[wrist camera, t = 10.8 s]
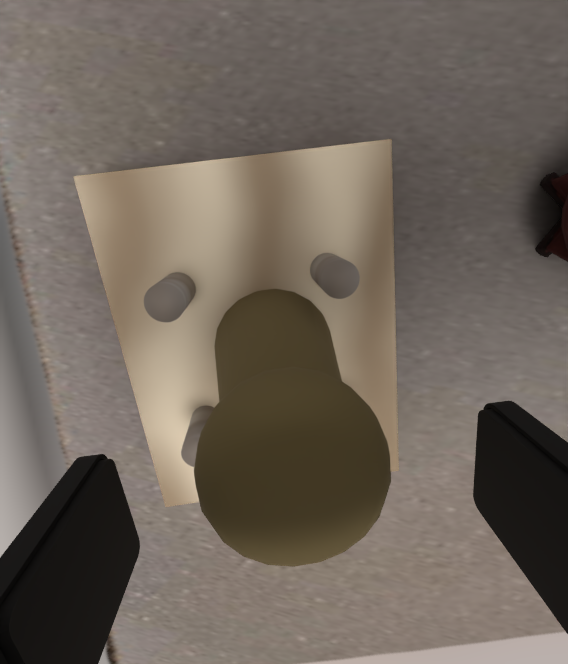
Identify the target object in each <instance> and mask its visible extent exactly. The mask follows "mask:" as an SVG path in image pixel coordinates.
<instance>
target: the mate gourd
mask: <svg viewBox="0 0 568 664" xmlns="http://www.w3.org/2000/svg"><path fill="white" fill-rule="evenodd" d="M540 185H541V187H542V188H543V189H544V190H545V191H546V192H547V193H548V194H549V195H550V196H551V197H552V198H553V199H554V200H555V202H556V203H557V204H558V205H559V206H560V207H561V208H562V218H561V219H560V220H559V222H558V223H557V224H556V225H555V226H554V227H553V229H552V230H551V231H550V232H549V233H548V234H547V235H546V237H545V238H544V239H543V240H542V241H541V242H540V244H539V245H538V246H537V247H536V252H538V253H539V254H540V255H542V256H544V257H548V256H549V255H550V254H551V253H553V254H555V255H557V256H559V257H560V258H562V259H564V260H566V261H568V173H567V174H565V175H563V176H561V177H559V176H558V175H557V174H556V173H555V172H553V173H551V174H547V175H546V176H545V177H544V178H543V180H542V181H541V183H540Z"/></svg>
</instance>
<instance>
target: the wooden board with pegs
mask: <svg viewBox="0 0 568 664" xmlns="http://www.w3.org/2000/svg"><path fill="white" fill-rule="evenodd" d="M73 177H74V180H75V184H76V188H77V191H78V195H79V198H80V202H81V206H82V209H83V213H84V216H85V220H86V223H87V227H88V231H89V234H90V238H91V241H92V245H93V249H94V252H95V256H96V259H97V263H98V266H99V270H100V274H101V277H102V281H103V284H104V288H105V292H106V295H107V299H108V302H109V306H110V309H111V313H112V317H113V320H114V324H115V327H116V331H117V334H118V338H119V342H120V345H121V349H122V352H123V356H124V360H125V363H126V367H127V370H128V374H129V377H130V381H131V385H132V388H133V392H134V395H135V399H136V403H137V406H138V410H139V413H140V417H141V420H142V424H143V428H144V431H145V435H146V438H147V442H148V446H149V449H150V453H151V456H152V460H153V463H154V467H155V471H156V474H157V478H158V481H159V485H160V488H161V492H162V496H163V499H164V503H165V506H166V507H170V506H176V505H182V504H189V503H195V502H199V498H198V494H197V489H196V485H195V477H194V466H195V459H196V452H197V446H198V441H199V438H200V434H201V431H202V429H203V427H204V426H205V424H206V422H207V420H208V418H209V417H210V415H211V413H212V411H213V409H214V408H215V406H216V405H217V404H218V403H219V394H218V382H217V370H216V359H215V347H214V345H215V339H216V332H217V328H218V326H219V324H220V322H221V320H222V318H223V316H224V314H225V312H226V311H227V310H228V309H229V308H231V307H232V306H233V305H234V304H235V303H236V302H237V301H238V300H239V299H241V298H243V297H245V296H247V295H249V294H251V293H253V292H256V291H261V290H269V289H281V290H286V291H292V292H295V293H297V294H299V295H301V296H303V297H304V298H306V299H308V300H310V301H311V302H312V303H313V304H314V305H315V306H316V307H317V308H318V309H319V310H320V311H321V313H322V314H323V316H324V318H325V320H326V322H327V325H328V327H329V329H330V333H331V337H332V341H333V346H334V350H335V354H336V358H337V362H338V367H339V371H340V375H341V379H342V382H343V383H345V384H347V385H348V386H350V387H351V388H352V389H353V390H354V391H355V392H356V393H357V394H358V395H359V396H360V397H361V398H362V399H363V400H364V401H365V402H366V403H367V404H368V405H369V406H370V408H371V409H372V411H373V412H374V414H375V415H376V417H377V419H378V421H379V423H380V426H381V428H382V430H383V432H384V435H385V437H386V439H387V442H388V447H389V453H390V469H391V472H392V471H399V460H398V414H397V368H396V321H395V275H394V229H393V183H392V139H387V140H378V141H370V142H361V143H353V144H344V145H336V146H327V147H319V148H310V149H302V150H293V151H285V152H276V153H268V154H259V155H251V156H242V157H234V158H225V159H217V160H208V161H200V162H191V163H183V164H174V165H166V166H157V167H149V168H140V169H132V170H123V171H115V172H106V173H98V174H89V175H81V176H73Z"/></svg>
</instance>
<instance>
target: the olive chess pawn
mask: <svg viewBox="0 0 568 664" xmlns="http://www.w3.org/2000/svg"><path fill="white" fill-rule="evenodd" d="M214 347H215V359H216V370H217V382H218V394H219V403H218V404H217V405H216V406H215V408H214V409H213V411H212V413H211V415H210V417H209V418H208V420H207V422H206V424H205V426H204V427H203V429H202V431H201V434H200V438H199V441H198V446H197V452H196V459H195V466H194V477H195V485H196V489H197V494H198V498H199V502H200V506H201V510H202V512H203V513H204V515H205V516H206V518H207V519H208V521H209V522H210V523H211V525H212V526H213V528H214V529H215V531H216V532H217V533H218V535H219V536H220V538H221V539H222V541H223V542H224V543H226V544H227V545H228V546H230V547H231V548H233V549H234V550H235V551H237V552H238V553H239V554H241V555H242V556H244V557H247V558H250V559H253V560H256V561H258V562H261V563H264V564H267V565H280V566H300V565H306V564H312V563H318V562H321V561H324V560H326V559H328V558H331V557H333V556H336V555H338V554H340V553H343V552H345V551H346V550H347V549H349V548H350V547H351V546H353V545H354V544H355V543H356V542H358V541H359V540H360V539H362V538H363V537H364V536H365V535H366V534H367V532H368V531H369V530H370V528H371V527H372V526H373V524H374V523H375V522H376V521H377V519H378V518H379V516H380V513H381V510H382V507H383V504H384V501H385V498H386V496H387V492H388V489H389V485H390V482H391V469H390V453H389V447H388V442H387V439H386V437H385V435H384V432H383V430H382V428H381V426H380V423H379V421H378V419H377V417H376V415H375V414H374V412H373V411H372V409H371V408H370V406H369V405H368V404H367V403H366V402H365V401H364V400H363V399H362V398H361V397H360V396H359V395H358V394H357V393H356V392H355V391H354V390H353V389H352V388H351V387H350V386H348V385H347V384H345V383H343V382H342V379H341V375H340V371H339V367H338V362H337V358H336V354H335V350H334V346H333V341H332V337H331V333H330V329H329V327H328V325H327V322H326V320H325V318H324V316H323V314H322V313H321V311H320V310H319V309H318V308H317V307H316V306H315V305H314V304H313V303H312V302H311V301H310V300H308V299H306V298H304V297H303V296H301V295H299V294H297V293H295V292H292V291H286V290H281V289H269V290H261V291H256V292H253V293H251V294H249V295H247V296H245V297H243V298H241V299H239V300H238V301H237V302H236V303H235V304H234V305H233V306H232V307H231V308H229V309H228V310H227V311H226V312H225V314H224V316H223V318H222V320H221V322H220V324H219V326H218V328H217V332H216V339H215V345H214Z"/></svg>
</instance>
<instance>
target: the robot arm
mask: <svg viewBox="0 0 568 664" xmlns="http://www.w3.org/2000/svg"><path fill="white" fill-rule="evenodd" d="M473 497H474V501H475V504H476V506H477V508H478V510H479V512H480V513H481V514H482V516H483V517H484V519H485V520H486V521H487V523H488V524H489V526H490V527H491V528H492V530H493V531H494V533H495V534H496V535H497V537H498V538H499V539H500V541H501V542H502V544H503V545H504V546H505V548H506V549H507V551H508V552H509V553H510V555H511V556H512V558H513V559H514V560H515V562H516V563H517V564H518V566H519V567H520V569H521V570H522V571H523V573H524V574H525V576H526V577H527V578H528V580H529V581H530V583H531V584H532V585H533V587H534V588H535V589H536V591H537V592H538V594H539V595H540V596H541V598H542V599H543V601H544V602H545V603H546V605H547V606H548V608H549V609H550V610H551V612H552V613H553V614H554V616H555V617H556V619H557V620H558V621H559V623H560V624H561V626H562V627H563V628H564V630H565V631H566V633H567V634H568V443H567V442H566V441H565V440H564V439H562V438H561V437H560V436H558V435H557V434H556V433H554V432H553V431H552V430H550V429H549V428H548V427H546V426H545V425H544V424H542V423H541V422H540V421H538V420H537V419H536V418H534V417H533V416H532V415H530V414H529V413H528V412H526V411H525V410H524V409H523V408H521V407H520V406H519V405H517V404H516V403H514V402H512V401H503V402H496V403H488V404H486V405H485V407H484V410H481V411H480V412H479V413H478V424H477V441H476V457H475V474H474V490H473ZM139 549H140V541H139V537H138V534H137V531H136V528H135V525H134V522H133V518H132V515H131V512H130V509H129V506H128V503H127V500H126V497H125V494H124V490H123V487H122V484H121V481H120V478H119V475H118V472H117V469H116V466H115V463H114V461H113V460H112V459H108V458H107V457H106V456H105V455H104V454H99V455H91V456H84V457H79V458H77V459H76V460H75V461H74V463H73V464H72V465H71V467H70V468H69V469H68V470H67V472H66V473H65V474H64V476H63V477H62V478H61V480H60V481H59V483H57V485H56V486H55V488H54V489H53V490H52V491H51V493H50V494H49V495H48V496H47V498H46V499H45V501H44V502H43V503H42V504H41V506H40V507H39V508H38V510H37V511H36V512H35V513H34V515H33V516H32V517H31V519H30V520H29V521H28V522H27V524H26V525H25V526H24V528H23V529H22V530H21V532H20V533H19V534H18V535H17V537H16V538H15V539H14V541H13V542H12V543H11V545H10V546H9V547H8V549H7V550H6V551H5V552H4V554H3V555H2V556H1V558H0V664H98V663H99V660H100V657H101V655H102V652H103V649H104V647H105V644H106V641H107V638H108V636H109V633H110V630H111V628H112V625H113V622H114V620H115V617H116V614H117V611H118V609H119V606H120V603H121V601H122V598H123V595H124V593H125V590H126V587H127V585H128V582H129V579H130V576H131V574H132V571H133V568H134V566H135V563H136V560H137V558H138V554H139Z"/></svg>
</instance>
